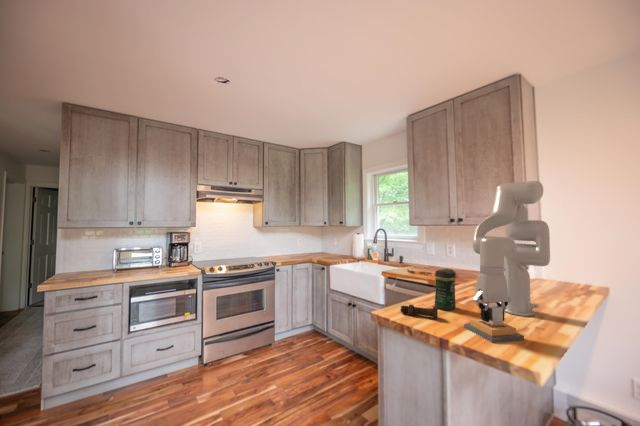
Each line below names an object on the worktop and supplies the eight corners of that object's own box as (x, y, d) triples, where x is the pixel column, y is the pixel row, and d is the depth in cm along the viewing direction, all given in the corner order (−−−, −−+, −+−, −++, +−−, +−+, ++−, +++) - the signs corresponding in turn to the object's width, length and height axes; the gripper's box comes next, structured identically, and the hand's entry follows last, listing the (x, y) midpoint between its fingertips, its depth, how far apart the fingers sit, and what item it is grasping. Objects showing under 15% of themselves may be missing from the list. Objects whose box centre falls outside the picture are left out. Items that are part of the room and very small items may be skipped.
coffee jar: (448, 312, 122) (448, 271, 123) (432, 307, 128) (432, 268, 129) (458, 308, 128) (458, 269, 129) (442, 304, 134) (442, 267, 135)
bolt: (401, 317, 120) (437, 321, 114) (399, 314, 117) (436, 319, 110) (402, 304, 123) (437, 307, 116) (400, 300, 120) (436, 304, 113)
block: (493, 330, 101) (492, 304, 101) (503, 335, 97) (502, 307, 97) (483, 331, 100) (482, 304, 100) (492, 336, 96) (492, 308, 96)
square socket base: (493, 325, 106) (493, 316, 106) (524, 340, 93) (523, 329, 93) (464, 327, 103) (464, 318, 104) (491, 342, 91) (491, 332, 91)
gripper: (503, 268, 104) (503, 315, 104) (464, 269, 101) (464, 317, 101) (520, 272, 97) (521, 322, 96) (479, 273, 94) (479, 325, 93)
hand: (492, 319), depth 98 cm, fingers open, 5 cm apart
